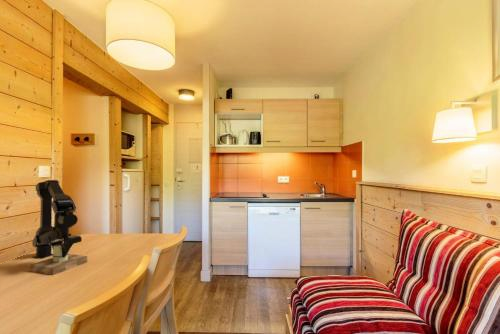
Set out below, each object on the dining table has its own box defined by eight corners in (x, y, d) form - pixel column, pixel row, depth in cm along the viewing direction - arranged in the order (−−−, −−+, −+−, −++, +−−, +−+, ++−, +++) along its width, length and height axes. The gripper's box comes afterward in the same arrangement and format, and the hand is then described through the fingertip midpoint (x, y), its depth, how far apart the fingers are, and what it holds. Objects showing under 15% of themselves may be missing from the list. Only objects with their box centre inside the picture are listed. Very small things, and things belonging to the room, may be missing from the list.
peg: (52, 263, 112) (53, 246, 112) (61, 260, 116) (62, 243, 116) (59, 264, 111) (59, 246, 111) (67, 261, 115) (68, 244, 115)
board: (30, 271, 108) (30, 264, 108) (66, 259, 123) (66, 253, 123) (53, 275, 104) (53, 268, 104) (87, 262, 119) (87, 256, 119)
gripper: (28, 225, 109) (26, 260, 108) (59, 228, 104) (57, 265, 103) (54, 221, 120) (53, 252, 119) (83, 224, 115) (81, 256, 114)
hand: (60, 256), depth 114 cm, fingers closed on peg, 4 cm apart
